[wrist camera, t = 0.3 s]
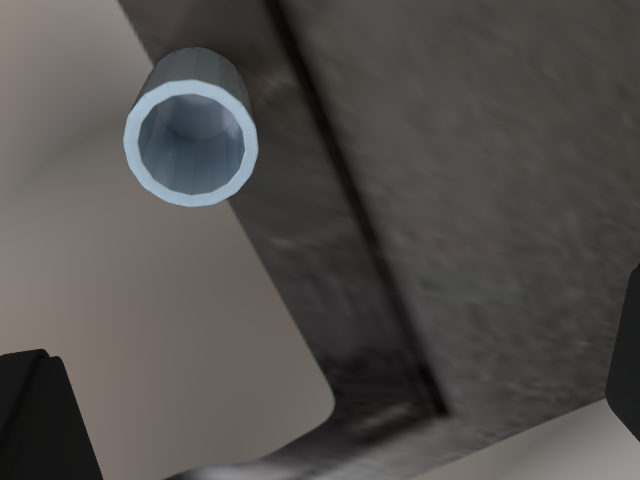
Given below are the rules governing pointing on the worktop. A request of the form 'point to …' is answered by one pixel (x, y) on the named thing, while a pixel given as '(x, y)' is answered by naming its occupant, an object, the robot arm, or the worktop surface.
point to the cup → (192, 129)
